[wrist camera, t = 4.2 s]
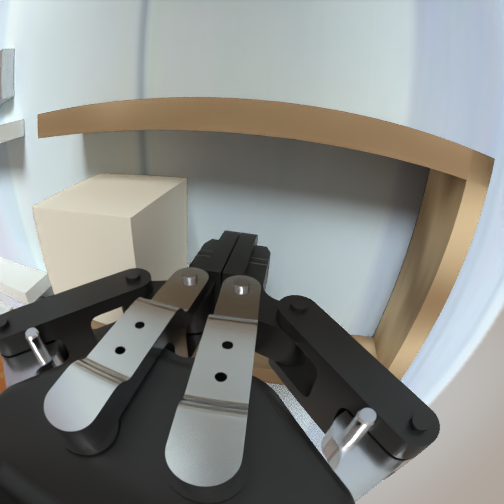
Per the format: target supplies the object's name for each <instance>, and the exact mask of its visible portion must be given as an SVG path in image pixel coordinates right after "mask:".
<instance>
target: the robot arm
mask: <svg viewBox="0 0 504 504" xmlns="http://www.w3.org/2000/svg"><path fill="white" fill-rule="evenodd" d="M257 239H258V235H254V234H247V233H240V232H232V231H224V232H223V234H222V236H221V237H220V239H219V240H215V239H212V240H210V241H208V242H206V243H205V244H204V245H203V246H202V248H201V250H200V251H199V252H198V254H197V255H196V257H195V258H194V260H193V261H192V263H191V264H190V266H189V267H187V268H182V269H179V270H177V271H176V272H174V273H173V274H172V276H171V277H170V278H169V279H168V280H165V281H152V280H151V274H150V273H149V272H148V271H147V270H144V269H141V268H132V269H128V270H124V271H121V272H118V273H116V274H113V275H110V276H107V277H104V278H101V279H98V280H95V281H92V282H89V283H86V284H84V285H81V286H78V287H75V288H72V289H69V290H66V291H64V292H61V293H58V294H55V295H52V296H50V297H47V298H44V299H41V300H38V301H36V302H33V303H30V304H27V305H25V306H22V307H19V308H17V309H14V310H11V311H9V312H6V313H3V314H1V315H0V355H1V357H2V360H3V368H4V375H5V382H6V389H5V390H3V391H2V392H1V393H0V504H355V502H356V501H357V500H358V499H360V498H361V497H362V496H364V495H365V494H366V493H367V492H369V491H370V490H371V489H372V488H374V487H375V486H376V485H377V484H379V483H380V482H381V481H382V480H384V479H385V478H387V477H389V476H390V475H392V474H393V473H394V472H396V471H397V470H398V469H400V468H401V467H403V466H404V465H405V464H406V463H408V462H409V461H410V460H412V459H413V458H414V457H416V456H417V455H418V454H419V453H421V452H422V451H423V450H424V449H425V448H427V447H428V446H429V445H430V444H431V443H432V442H434V440H435V439H436V438H437V436H438V434H439V430H440V424H439V420H438V418H437V416H436V414H435V413H434V412H433V411H432V410H431V409H430V408H429V407H428V406H427V405H426V404H425V403H424V402H423V401H421V400H420V399H419V398H418V397H417V396H416V395H415V394H414V393H413V392H412V391H411V390H410V389H408V388H407V387H406V386H405V385H404V384H403V383H402V382H401V381H400V380H399V379H398V378H397V377H395V376H394V375H393V374H392V373H391V372H390V371H389V370H388V369H387V368H386V367H385V366H384V365H382V364H381V363H380V362H379V361H378V360H377V359H376V358H375V357H374V356H373V355H372V354H370V353H369V352H368V351H367V350H366V349H365V348H364V347H363V346H362V345H361V344H360V343H359V342H357V341H356V340H355V339H354V338H353V337H352V336H351V335H350V334H349V333H348V332H347V331H345V330H344V329H343V328H342V327H341V326H340V325H339V324H338V323H337V322H336V321H334V320H333V319H332V318H331V317H330V316H329V315H328V314H327V313H326V312H325V311H324V310H322V309H321V308H320V307H319V306H318V305H317V304H316V303H315V302H314V301H312V300H311V299H309V298H307V297H303V296H298V295H292V296H287V297H284V298H283V299H281V300H280V301H278V300H276V299H273V298H272V297H270V296H269V295H268V294H267V293H266V292H265V288H266V283H267V277H268V269H269V261H270V251H269V250H268V248H267V247H264V246H257ZM120 307H122V311H123V315H122V316H121V317H120V318H119V320H118V321H115V322H113V323H110V324H108V325H105V326H103V327H100V328H97V329H92V327H91V322H92V320H93V319H94V318H95V317H96V316H99V315H101V314H104V313H106V312H109V311H112V310H114V309H117V308H120ZM254 352H256V353H258V354H260V355H263V356H265V357H267V358H269V364H270V366H271V368H272V369H273V370H274V372H275V373H276V374H277V375H278V377H279V378H280V379H281V381H282V382H283V383H284V384H285V386H286V387H287V388H288V389H289V391H290V392H291V393H292V394H293V396H294V397H295V398H296V399H297V401H298V402H299V403H300V404H301V406H302V407H303V408H304V409H305V411H306V412H307V413H308V414H309V415H310V417H311V418H312V419H313V420H314V421H315V423H316V424H317V425H318V426H319V427H320V429H321V430H322V431H323V432H324V433H325V436H324V437H323V439H322V445H321V447H322V451H323V453H324V455H325V457H326V458H327V461H328V463H327V461H326V460H325V459H324V457H323V456H322V455H321V453H320V452H319V451H318V449H317V448H316V447H315V446H314V444H313V443H312V442H311V440H310V439H309V437H308V436H307V435H306V433H305V432H304V431H303V429H302V428H301V427H300V425H299V424H298V423H297V421H296V420H295V418H294V417H293V416H292V414H291V413H290V411H289V410H288V409H287V407H286V406H285V404H284V403H283V402H282V400H281V399H280V397H279V396H278V395H277V393H276V392H275V391H274V390H273V389H272V388H271V387H270V386H268V385H267V384H266V383H265V382H263V381H262V380H260V379H259V378H257V377H255V376H253V375H252V370H253V361H254Z"/></svg>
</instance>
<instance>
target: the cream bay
mask: <svg viewBox="0 0 504 504" xmlns="http://www.w3.org/2000/svg"><path fill="white" fill-rule="evenodd" d="M22 136H24V119H23V120H19V121H14V122H10V123H6V124H3V125H0V143H3V142H6V141H9V140H12V139H15V138H19V137H22ZM50 286H51V283H50V279H49V276H48V273H46V272H43V271H39V270H36V269H33V268H30V267H27V266H24V265H21V264H18V263H15V262H12V261H10V260H7V259H4V258H1V257H0V292H2V293H4V294H6V295H8V296H10V297H12V298H14V299H16V300H18V301H20V302H22V303H24V304H30V303H33V302H35V301H36V300H37V299H38V298H39V297H40V296H41V295H42V294H43V293H44V292H45V291H46V290H47V289H48V288H49V287H50Z"/></svg>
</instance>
